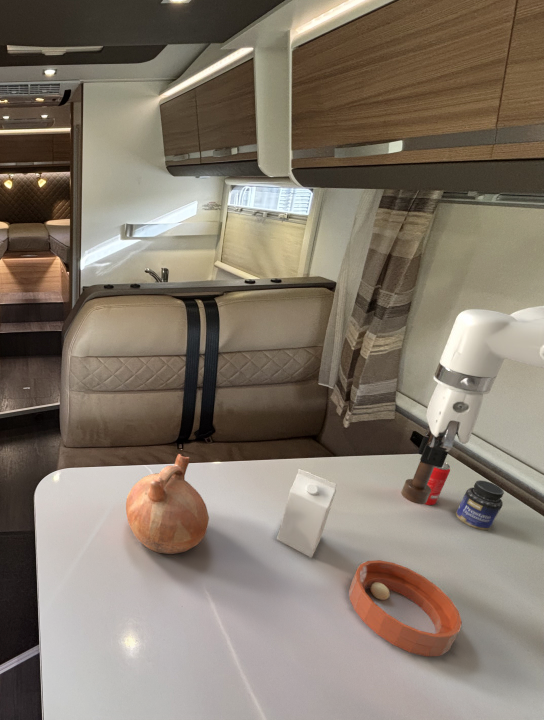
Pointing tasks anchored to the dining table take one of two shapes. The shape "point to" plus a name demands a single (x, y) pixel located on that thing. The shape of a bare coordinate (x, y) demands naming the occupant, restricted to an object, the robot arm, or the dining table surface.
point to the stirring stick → (419, 483)
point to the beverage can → (437, 482)
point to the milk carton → (306, 512)
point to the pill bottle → (480, 505)
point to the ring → (415, 590)
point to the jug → (167, 510)
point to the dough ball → (379, 590)
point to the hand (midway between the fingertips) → (429, 459)
